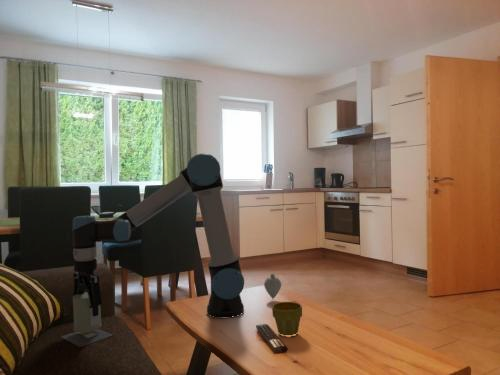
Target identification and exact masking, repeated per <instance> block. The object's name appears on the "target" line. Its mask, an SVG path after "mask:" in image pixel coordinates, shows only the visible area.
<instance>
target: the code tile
mask: <svg viewBox="0 0 500 375" xmlns="http://www.w3.org/2000/svg"><path fill="white" fill-rule="evenodd" d="M111 337H114V334H112V333H110V332H107V331H105V330H103V329H100V328H98V329H96V330H93V331H88V332H76V331H74V332H72V333H69V334H65V335H62V336H60V338H61V339H63V340H66V341H67V342H69V343H71V344H73V345H75V346H76V347H79V348H81V347H82V348H83V347H85V346H89V345H91V344H93V343H96V342H99V341H101V340H104V339H108V338H111Z"/></svg>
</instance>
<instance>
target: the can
mask: <svg viewBox="0 0 500 375" xmlns="http://www.w3.org/2000/svg"><path fill="white" fill-rule="evenodd" d="M90 306H91V304H90V298H89V296H88V293H87V291H85V293H82V294H76V295H74V296H73V295H72V307H73V308H72V309H73V310H72V311H73V331H74V332H88V331H93V330H96V329H100V328H101V327H102V315H101V314H102V313H101V311H102V310H101V305H99V306H98V316H99V324H97V325H94V326H90V308H89V307H90Z"/></svg>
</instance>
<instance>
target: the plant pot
mask: <svg viewBox="0 0 500 375" xmlns="http://www.w3.org/2000/svg"><path fill="white" fill-rule="evenodd" d="M271 310H272V317H273V318H274V321H275V324H276V329H277V333H278V332H279V333H280V334H283V335H293V334H296V333H297V332H298V333H299V329H300V328H299V327H300V321H301V318H302V317H303V306H302V304H300V303H298V302H295V301H280V302H276V303H274V304H272V309H271ZM279 333H278V334H279Z"/></svg>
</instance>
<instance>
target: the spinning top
mask: <svg viewBox="0 0 500 375" xmlns="http://www.w3.org/2000/svg"><path fill="white" fill-rule="evenodd" d="M281 287H282V282H281V280H280V278H279V277H277V276H275V273H274V272H273V273H270V276H269V277H267V278H266V279H265V280H264V288H265V290H266V292H267V294H268V295H269V296H270V297H271V299H275V298H276V296H277V295H278V294H279V292H280V290H281V289H282V288H281Z"/></svg>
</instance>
